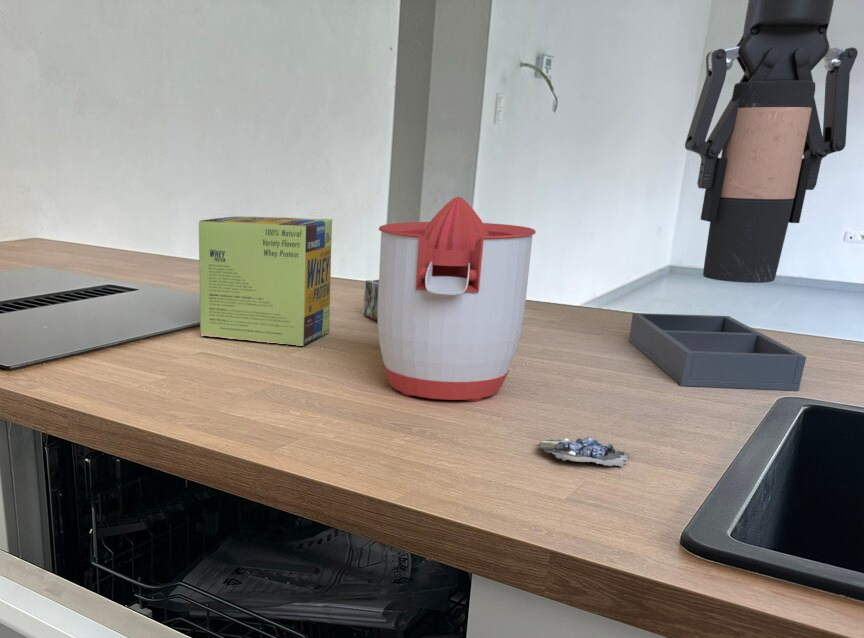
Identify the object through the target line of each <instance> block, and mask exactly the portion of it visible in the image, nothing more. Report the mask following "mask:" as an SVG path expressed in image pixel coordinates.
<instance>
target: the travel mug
mask: <svg viewBox="0 0 864 638" xmlns="http://www.w3.org/2000/svg"><path fill="white" fill-rule="evenodd" d="M815 94H816V82H815V81H814V80H813V81H756V82H743V83H739V82H737V83H735V84H734V86H733V90H732V95H731V98H732V102H734V101H736V100H737V99H738V98H739V97H740V101H739V106H738V107H739V108H738V111H737V117H736V122H735V127H734V130H733V132H732V134H731V136H730V137H729V139H728V141H727V142H726V144H725V146H724V147H723V149H722V151H721V155H720V158H727V161H726V167H725V173H724V178H723V184H722V190H721V195H720V201H719V207H718V212H717V218H716V222H709V227H708V235H707V242H706V248H705V256H704V263H703V271H702V272H703V273H702V276H703V278H706V279H710V280H714V281H722V282H731V283H746V284H750V283H751V284H762V283H763V284H765V283H773V282H775V279H776V276H777V272H778V268H779V265H780V260H781V256H782V251H783V247H784V243H785V239H786V235H787V231H788V226H789V224H790V223H789V219H790V214H791V210H792V206H793V202H794V200H793V199H794V197H795V192H796V187H797V182H798V177H799V172H800V167H801V161H802V158H803V157H804V155H803V151H804V146H805V141H806V136H807V131H808V125H809V120H810V115H811V110H812V108H811V107H812V105H813V100H814V98H815Z"/></svg>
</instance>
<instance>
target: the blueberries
mask: <svg viewBox="0 0 864 638" xmlns="http://www.w3.org/2000/svg"><path fill="white" fill-rule="evenodd" d="M536 448H537V449H542V450H543V452H544V453H547V454H550V453H551V454H552V455H554V456H555V457H554V458H556V459H557V460H558V459H559V460H560V459H561V460H562V461H564V462H566V461H567V460H568V461H571V462H577V463H578V462H579V463H586V462H587V463H591V462H592V463H595V464H597V465H599V464H600V465H603V466H609V467H612V466H616V467H617V466H619V467H621V468H623V467H624V465H625V464H627V461H628V459H629V457H631V454H630V453H628V452H626V451H625V450H620V449H618V448H617V447H614V446H613V444H612V443H608V444H603V443H602V441H600V440H598V439H593V438H592V437H591V436H588V437H585V438H581V437H580V438H577V439H576V440H575V441H570V439H569V438H567V437H564V439H562V440H561V439H544V440H540V441H539V443H538V445H537V446H536Z"/></svg>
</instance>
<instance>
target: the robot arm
mask: <svg viewBox="0 0 864 638" xmlns="http://www.w3.org/2000/svg"><path fill="white" fill-rule="evenodd" d="M834 2H835V0H748V2H747V7H746V14H745V18H744V19H745V20H744V25H743V33H742V36H741V38H740V40H739V42H738V43H737V44H736V46H735V47H730V48H725V49H724V48H718V49H715V50H711V51H709V52H708V53H707V54H706V57H705V71H706V72H705V73H706V74H705V75H706V76H705V78H704V82H703V85H702V88H701V92H700V95H699V98H698V101H697V105H696V108H695V111H694V114H693V116H692V119H691V123H690V127H689V129H688V133H687V135H686V139H685V142H684V148H685V150H687V151H690V152H693V153H694V154H697V155H699V157H700V166H699V171H698V177H697V188H698V189H703V190H704V189H705V191H704V196H703V202H702V207H701V214H700V219H699V220H701V221H705V222H708V223H710V222H716V218H717V212H718V207H719V201H720V195H721V190H722V184H723V178H724V173H725V167H726V161H727V158H721V157H719V155H720V154H721V153H722V149H723V147H724V146H725V144H726V142H727V141H728V139H729V137H730V136H731V134H732V132H733V130H734V127H735V122H736V117H737V111H738V108H739V107H738V106H739V101H740V97H739V98H738V99H737V100H736V101H734V102H732V97H731V98H730V100H729V101H728V104H727V105H726V107H725V108H724V110H723V112H722V114H721V115H720V117H719V119H718V121H717V122H716V123H715V126H714V128H713V129H712V131H711V132H710V134H709V136H708V133H709V129H710V127H711V123H712V121H713V118H714V114H715V111H716V108H717V105H718V102H719V99H720V96H721V94H722V93H721V92H722V91H723V90H722V89H723V86H724V84H725V80H726V76H727V71H729V70H731V68H732V67H733V64H734V61H735V60H736V61H737V62H738V65H739V67H740V68H741V70H742V72H743V73H744V74H743V75H742V77H741V79H740V81H739V82H738V83H743V82H756V81H813V82H814V79H813V74H812V71H813V70H814V69H815V67H816V66H817V65H818V64H819V63H820V62H821V61H822V60H824V69H825V70H826V76H825V86H824V103H823V105H824V107H823V121H822V122H823V124H822V128H821V122H820V117H819V113H818V109H817V103H816V99H815V97H814V100H813V105H812V107H811V108H812V110H811V115H810V120H809V125H808V131H807V136H806V141H805V146H804V151H803V157H802V161H801V167H800V172H799V177H798V182H797V187H796V192H795V197H794V199H793V200H794V202H793V206H792V210H791V214H790V219H789V223H788V224H800V221H801V216H802V212H803V208H804V202H805V197H806V193H807V191H813V190H815V188H816V186H817V182H818V178H819V175H820V174H819V173H820V169H821V164H822V161H823V159H824V158H826V157H827V156H828V155H830V154H834V153H837V152H841V151H843V150H844V149H845V147H846V145H847V144H846V143H847V126H848V110H849V94H850V76H851V71H852V69H853V66H854V65H855V61H856V59H857V57H858V53H859V52H858V49H857V48H856V47H847V48H842V47H837V46H832V45H830V42H829V40H828V35H827V33H828V28H829V25H830V22H831V17H832V12H833V6H834ZM707 136H708V138H707Z"/></svg>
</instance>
